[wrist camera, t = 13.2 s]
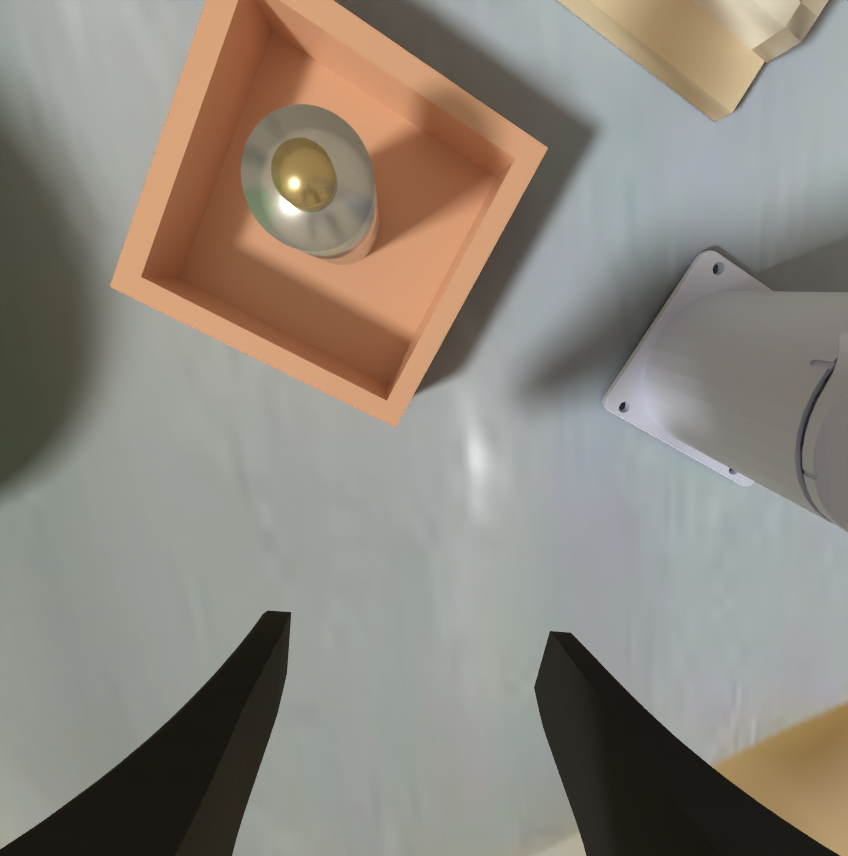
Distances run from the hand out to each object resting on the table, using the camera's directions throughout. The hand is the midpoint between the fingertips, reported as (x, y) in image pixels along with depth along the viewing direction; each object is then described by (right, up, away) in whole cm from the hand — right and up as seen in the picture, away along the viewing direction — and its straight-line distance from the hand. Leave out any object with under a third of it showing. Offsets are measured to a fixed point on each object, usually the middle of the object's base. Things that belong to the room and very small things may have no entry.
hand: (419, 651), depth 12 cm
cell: (-3, +14, +5) cm, 16 cm away
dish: (-3, +14, +6) cm, 16 cm away
